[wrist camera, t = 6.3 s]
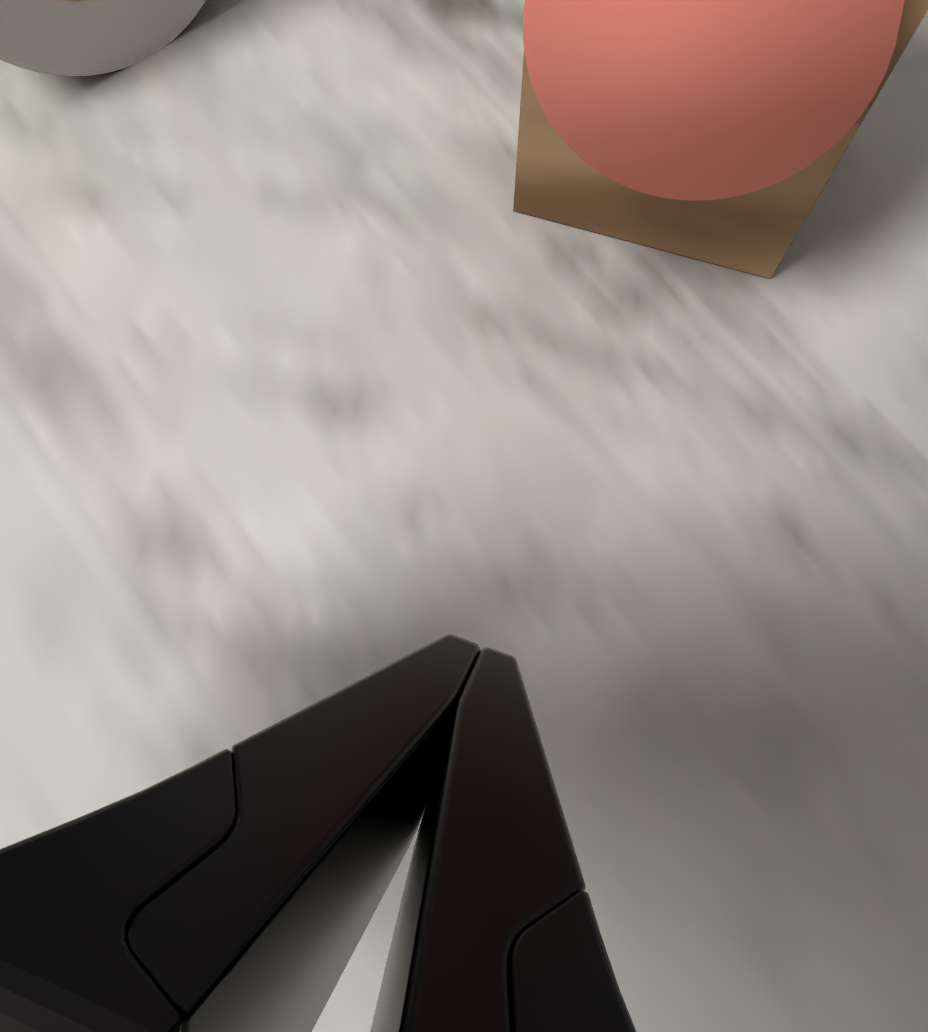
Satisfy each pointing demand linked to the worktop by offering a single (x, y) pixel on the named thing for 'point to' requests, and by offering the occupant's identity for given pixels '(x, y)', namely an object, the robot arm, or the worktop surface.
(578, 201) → the catch block
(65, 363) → the worktop surface
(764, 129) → the knob
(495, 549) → the worktop surface
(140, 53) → the toilet paper
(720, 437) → the worktop surface
